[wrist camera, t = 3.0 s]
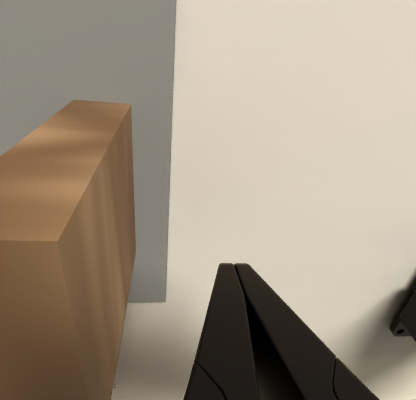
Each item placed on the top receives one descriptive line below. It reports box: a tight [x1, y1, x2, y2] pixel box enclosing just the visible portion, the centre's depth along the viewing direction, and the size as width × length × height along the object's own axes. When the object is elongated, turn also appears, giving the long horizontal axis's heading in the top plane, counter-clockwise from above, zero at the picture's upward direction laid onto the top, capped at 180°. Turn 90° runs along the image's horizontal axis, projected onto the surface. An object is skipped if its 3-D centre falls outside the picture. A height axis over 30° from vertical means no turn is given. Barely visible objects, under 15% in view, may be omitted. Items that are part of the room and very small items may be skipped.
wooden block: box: [0, 100, 136, 400], centre depth 9 cm, size 2×7×8 cm, turn 175°
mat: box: [0, 0, 176, 302], centre depth 12 cm, size 12×14×1 cm
